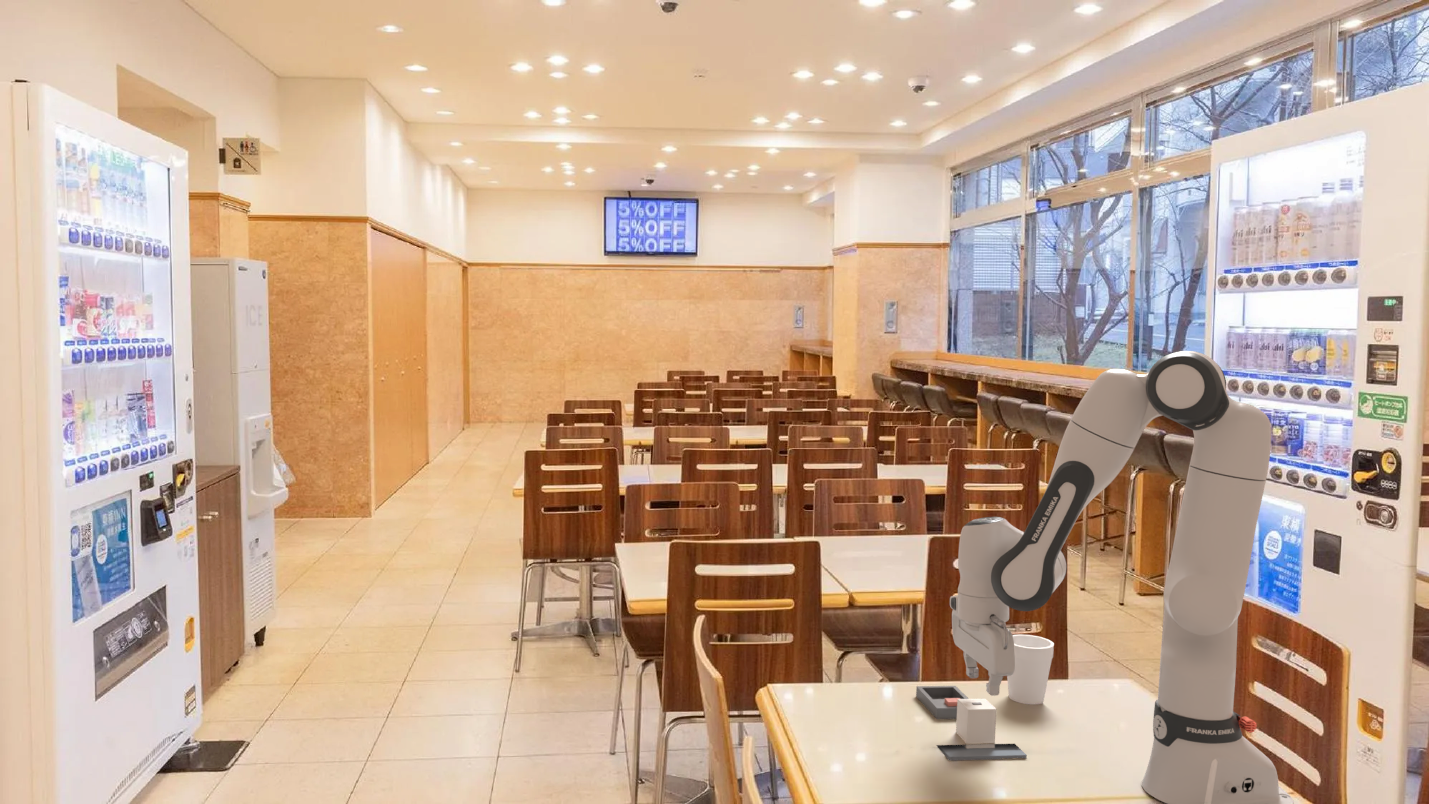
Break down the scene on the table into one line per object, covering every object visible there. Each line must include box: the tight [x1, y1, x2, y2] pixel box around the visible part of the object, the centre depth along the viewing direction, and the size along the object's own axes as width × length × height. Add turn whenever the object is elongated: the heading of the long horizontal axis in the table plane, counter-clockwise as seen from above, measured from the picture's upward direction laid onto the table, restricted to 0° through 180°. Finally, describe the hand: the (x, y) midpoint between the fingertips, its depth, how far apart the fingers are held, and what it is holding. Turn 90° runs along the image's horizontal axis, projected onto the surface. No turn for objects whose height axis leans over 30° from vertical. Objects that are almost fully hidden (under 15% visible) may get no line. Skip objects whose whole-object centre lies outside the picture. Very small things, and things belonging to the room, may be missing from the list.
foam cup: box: [1006, 634, 1055, 705], centre depth 206 cm, size 10×9×13 cm
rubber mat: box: [935, 743, 1028, 761], centre depth 185 cm, size 14×12×1 cm
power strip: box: [915, 685, 970, 720], centre depth 200 cm, size 8×12×4 cm, turn 7°
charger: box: [955, 698, 997, 748], centre depth 185 cm, size 5×5×7 cm
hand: (982, 685), depth 184 cm, fingers open, 8 cm apart
